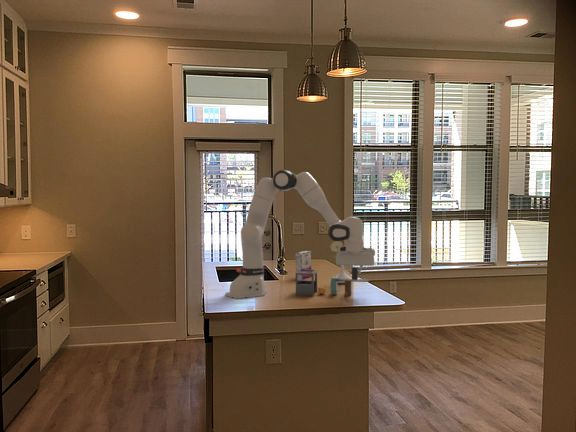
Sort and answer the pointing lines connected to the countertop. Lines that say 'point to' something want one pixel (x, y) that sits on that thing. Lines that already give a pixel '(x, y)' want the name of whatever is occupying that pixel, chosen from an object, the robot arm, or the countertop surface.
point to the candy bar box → (303, 262)
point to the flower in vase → (342, 273)
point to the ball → (321, 290)
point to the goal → (306, 283)
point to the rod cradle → (347, 287)
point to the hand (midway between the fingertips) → (354, 273)
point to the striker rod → (354, 279)
